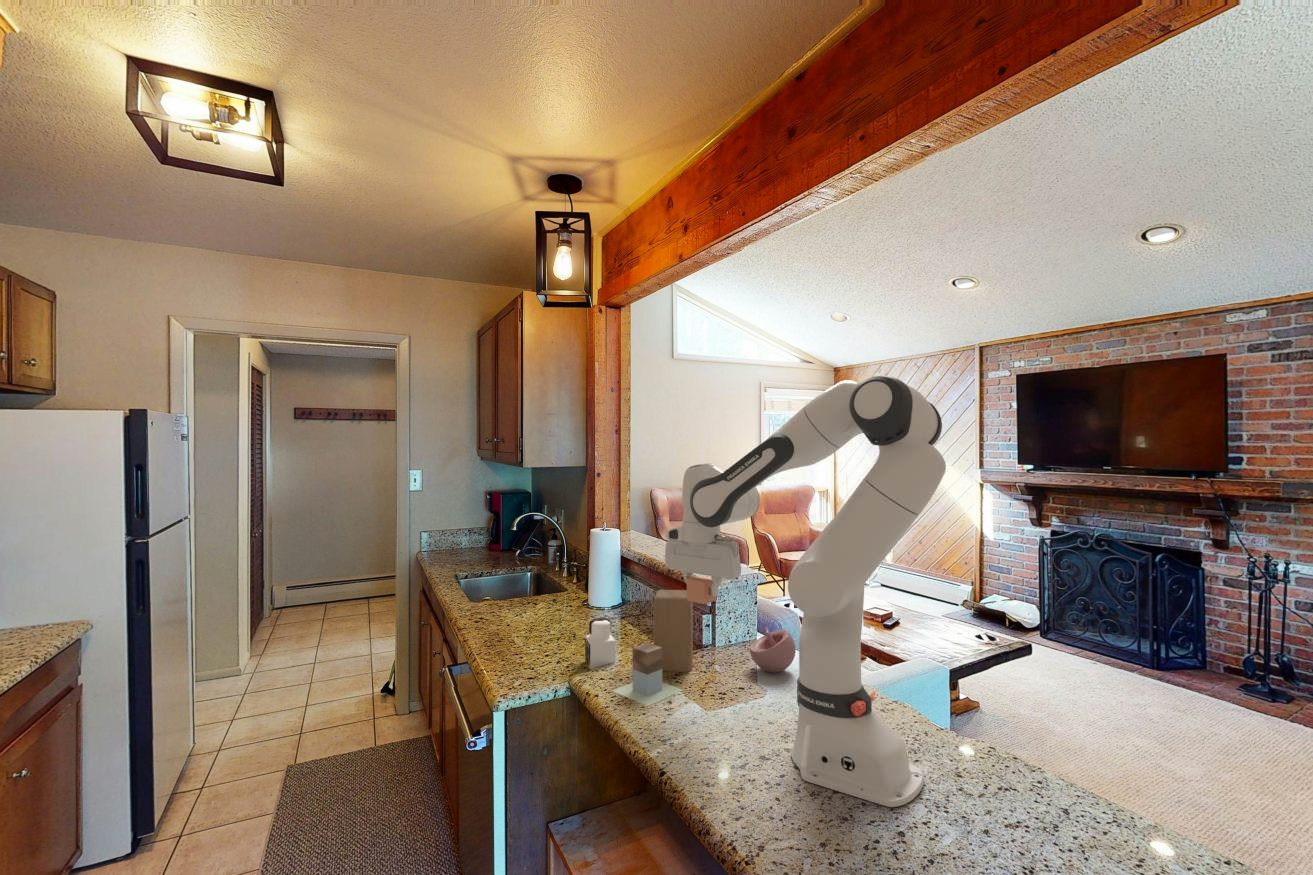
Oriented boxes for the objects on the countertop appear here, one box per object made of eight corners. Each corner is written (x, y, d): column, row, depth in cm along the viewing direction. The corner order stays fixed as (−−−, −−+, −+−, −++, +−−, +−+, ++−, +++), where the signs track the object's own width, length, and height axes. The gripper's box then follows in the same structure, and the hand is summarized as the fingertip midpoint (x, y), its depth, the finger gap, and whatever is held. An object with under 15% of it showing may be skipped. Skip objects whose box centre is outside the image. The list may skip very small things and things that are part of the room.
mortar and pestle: (747, 662, 154) (746, 620, 154) (790, 662, 153) (790, 620, 154) (752, 679, 142) (752, 633, 142) (800, 679, 141) (799, 634, 142)
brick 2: (662, 689, 132) (662, 668, 132) (647, 696, 128) (647, 674, 129) (647, 684, 135) (647, 663, 136) (632, 690, 132) (632, 668, 132)
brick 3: (717, 600, 129) (717, 578, 129) (703, 604, 125) (703, 581, 126) (700, 596, 132) (700, 575, 133) (686, 600, 129) (686, 578, 129)
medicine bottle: (584, 660, 155) (585, 617, 155) (609, 658, 157) (609, 615, 158) (589, 670, 148) (589, 624, 149) (615, 667, 150) (615, 622, 151)
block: (692, 662, 153) (692, 589, 154) (691, 676, 143) (691, 598, 144) (656, 661, 154) (656, 588, 155) (653, 675, 144) (653, 597, 145)
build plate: (683, 694, 132) (683, 689, 132) (647, 711, 123) (647, 705, 123) (647, 681, 140) (647, 676, 140) (611, 695, 132) (611, 690, 132)
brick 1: (662, 668, 132) (662, 647, 132) (647, 674, 128) (647, 652, 129) (647, 663, 136) (647, 642, 136) (632, 669, 132) (632, 647, 132)
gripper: (746, 535, 125) (747, 598, 124) (678, 528, 139) (678, 584, 138) (729, 538, 120) (730, 603, 120) (660, 531, 134) (661, 588, 134)
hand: (702, 593), depth 129 cm, fingers closed on brick 3, 5 cm apart
